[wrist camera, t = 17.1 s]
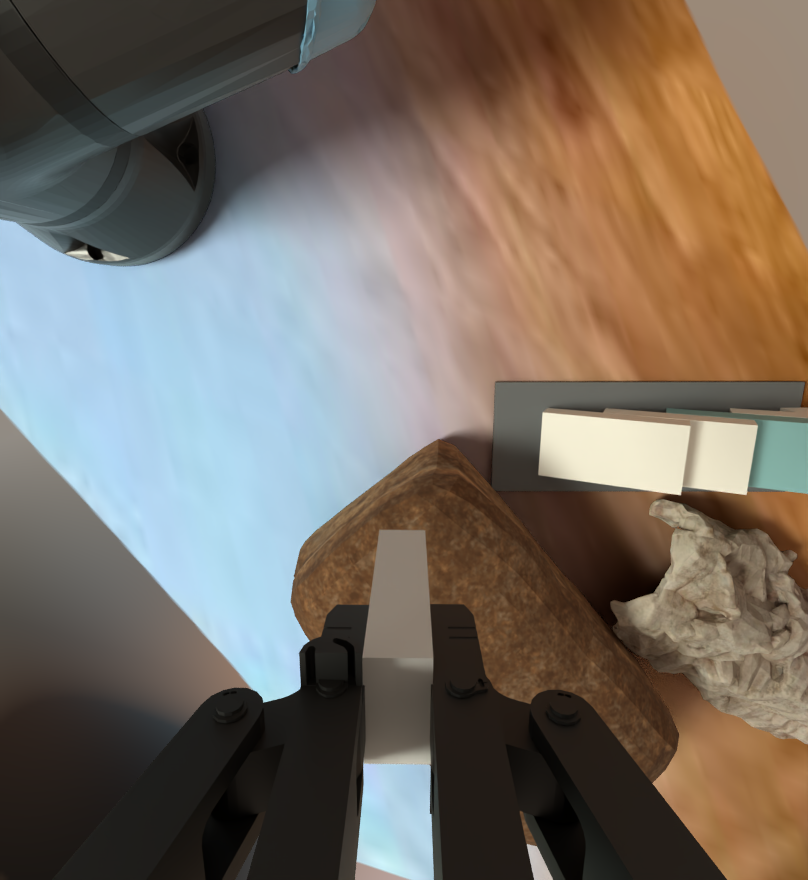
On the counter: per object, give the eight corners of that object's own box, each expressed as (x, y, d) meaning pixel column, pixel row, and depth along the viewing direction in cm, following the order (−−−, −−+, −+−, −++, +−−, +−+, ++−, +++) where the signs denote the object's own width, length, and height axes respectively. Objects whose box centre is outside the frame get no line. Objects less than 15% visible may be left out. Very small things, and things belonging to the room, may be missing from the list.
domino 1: (538, 475, 42) (680, 495, 38) (542, 412, 41) (690, 426, 37) (543, 468, 44) (680, 486, 40) (547, 407, 43) (690, 420, 39)
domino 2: (596, 475, 42) (746, 494, 38) (602, 412, 41) (758, 425, 37) (600, 468, 44) (743, 486, 40) (605, 408, 43) (754, 420, 39)
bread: (502, 763, 52) (532, 913, 40) (287, 538, 47) (241, 627, 34) (651, 667, 49) (736, 794, 37) (441, 414, 44) (454, 461, 31)
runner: (490, 489, 45) (491, 491, 45) (495, 381, 43) (495, 382, 42) (781, 489, 45) (785, 491, 44) (801, 381, 43) (805, 382, 42)
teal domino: (658, 475, 42) (815, 494, 38) (666, 412, 41) (829, 424, 37) (659, 468, 44) (809, 486, 40) (666, 407, 43) (822, 419, 38)
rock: (971, 667, 41) (830, 798, 45) (863, 595, 50) (752, 708, 53) (749, 524, 35) (606, 687, 39) (670, 470, 44) (560, 607, 47)
